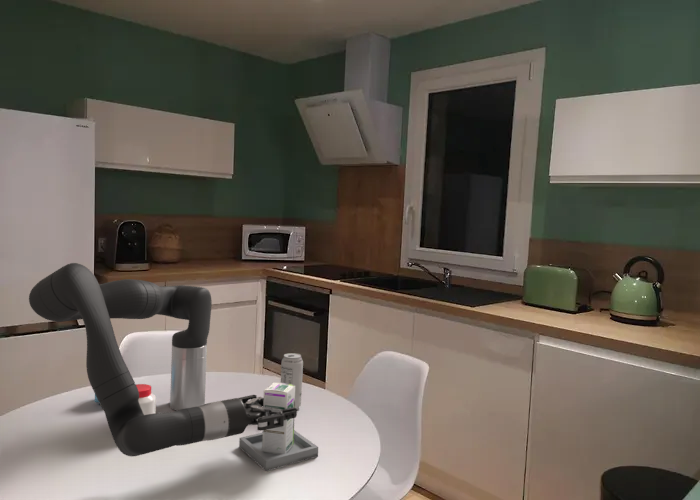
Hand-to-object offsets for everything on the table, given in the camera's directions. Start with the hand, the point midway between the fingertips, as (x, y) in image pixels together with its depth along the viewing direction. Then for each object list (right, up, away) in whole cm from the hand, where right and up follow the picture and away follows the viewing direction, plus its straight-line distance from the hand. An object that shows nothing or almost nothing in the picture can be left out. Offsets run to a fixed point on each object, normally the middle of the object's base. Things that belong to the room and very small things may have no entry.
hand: (286, 405), depth 120 cm
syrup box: (-2, -10, 0) cm, 10 cm away
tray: (-2, -10, 0) cm, 11 cm away
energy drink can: (-2, -9, +27) cm, 28 cm away
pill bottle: (-37, -8, +6) cm, 38 cm away
